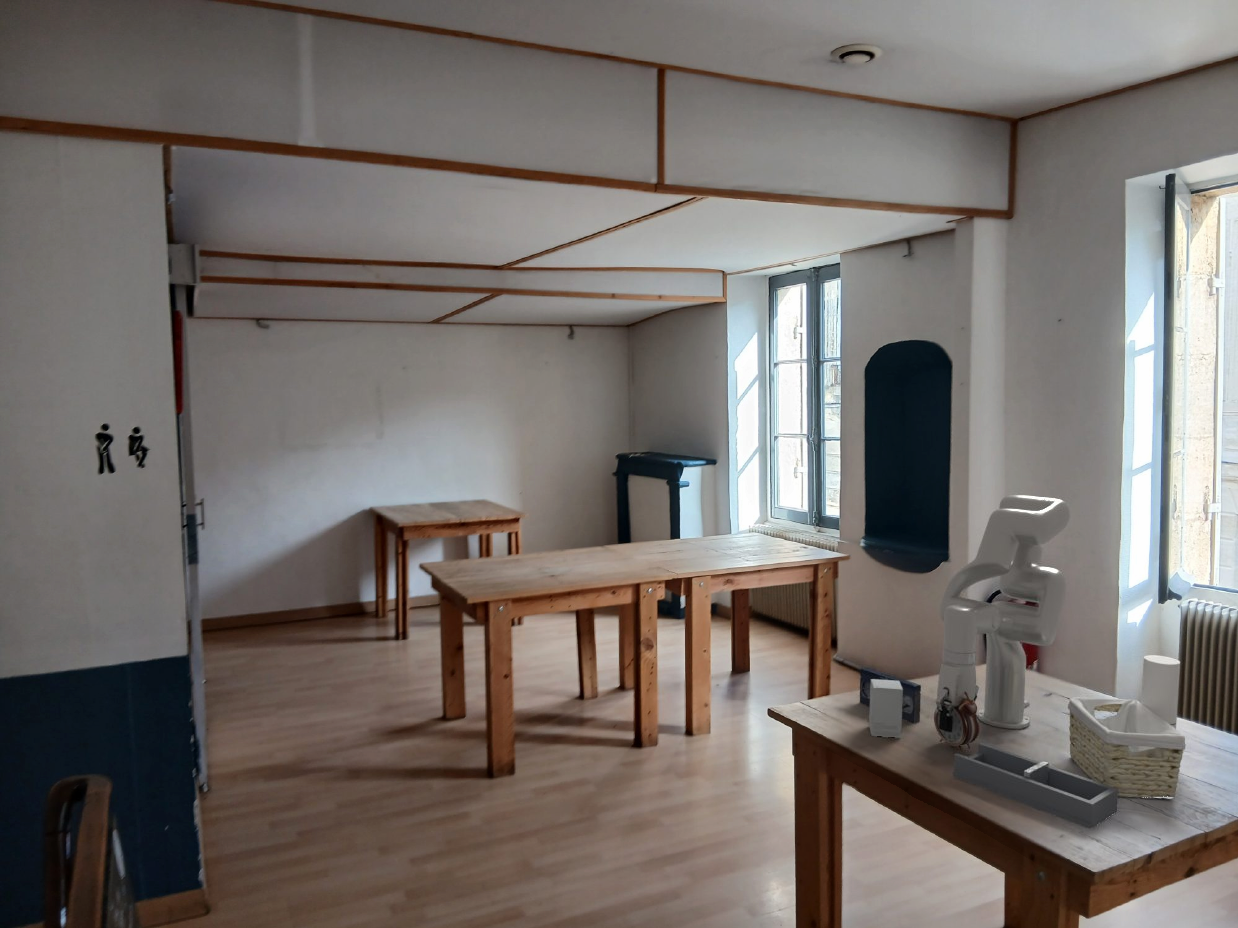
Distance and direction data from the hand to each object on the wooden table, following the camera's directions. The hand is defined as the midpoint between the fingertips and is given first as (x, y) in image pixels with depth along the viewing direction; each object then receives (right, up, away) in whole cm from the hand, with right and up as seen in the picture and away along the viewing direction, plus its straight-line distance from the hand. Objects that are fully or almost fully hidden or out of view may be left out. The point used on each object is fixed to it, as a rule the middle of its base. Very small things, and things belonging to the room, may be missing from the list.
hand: (956, 725), depth 215 cm
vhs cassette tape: (-9, -4, +24) cm, 26 cm away
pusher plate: (+7, -6, -25) cm, 27 cm away
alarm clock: (0, -5, 0) cm, 5 cm away
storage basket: (+31, -7, -16) cm, 35 cm away
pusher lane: (+7, -7, -25) cm, 27 cm away
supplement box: (-15, -5, +9) cm, 18 cm away
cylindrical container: (+43, -6, -9) cm, 44 cm away
